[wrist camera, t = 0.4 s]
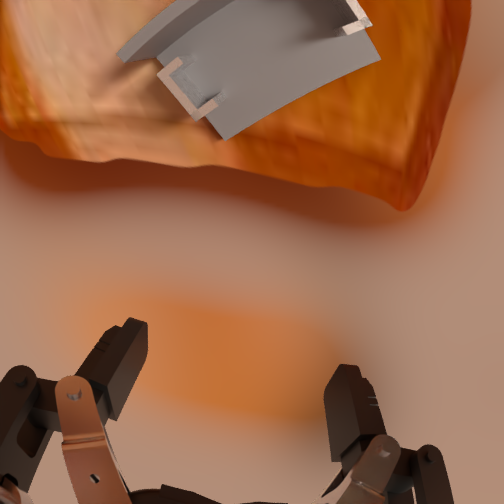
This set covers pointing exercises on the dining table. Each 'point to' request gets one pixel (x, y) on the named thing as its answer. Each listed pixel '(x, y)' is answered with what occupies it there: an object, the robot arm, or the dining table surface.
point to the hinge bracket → (251, 53)
